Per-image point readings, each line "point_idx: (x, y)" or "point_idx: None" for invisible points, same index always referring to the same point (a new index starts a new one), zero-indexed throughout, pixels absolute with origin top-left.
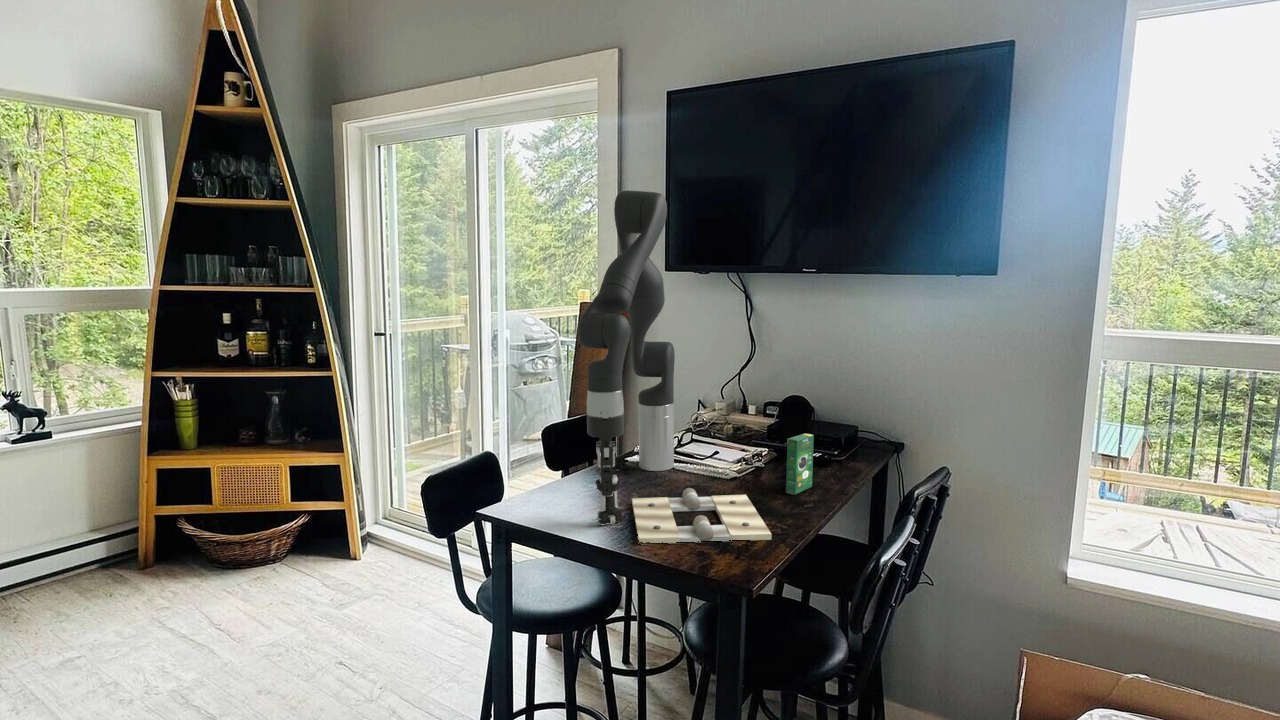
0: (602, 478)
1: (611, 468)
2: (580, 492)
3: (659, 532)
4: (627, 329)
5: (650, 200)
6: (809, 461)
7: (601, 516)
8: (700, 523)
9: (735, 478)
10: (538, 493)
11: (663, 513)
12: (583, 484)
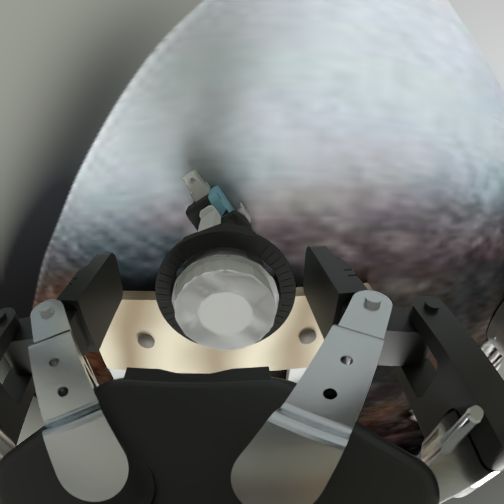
0: (63, 304)
1: (4, 388)
2: (467, 152)
3: (121, 341)
4: None
5: None
6: None
7: (193, 205)
8: None
9: (406, 416)
10: (469, 48)
11: (244, 357)
12: (500, 169)
